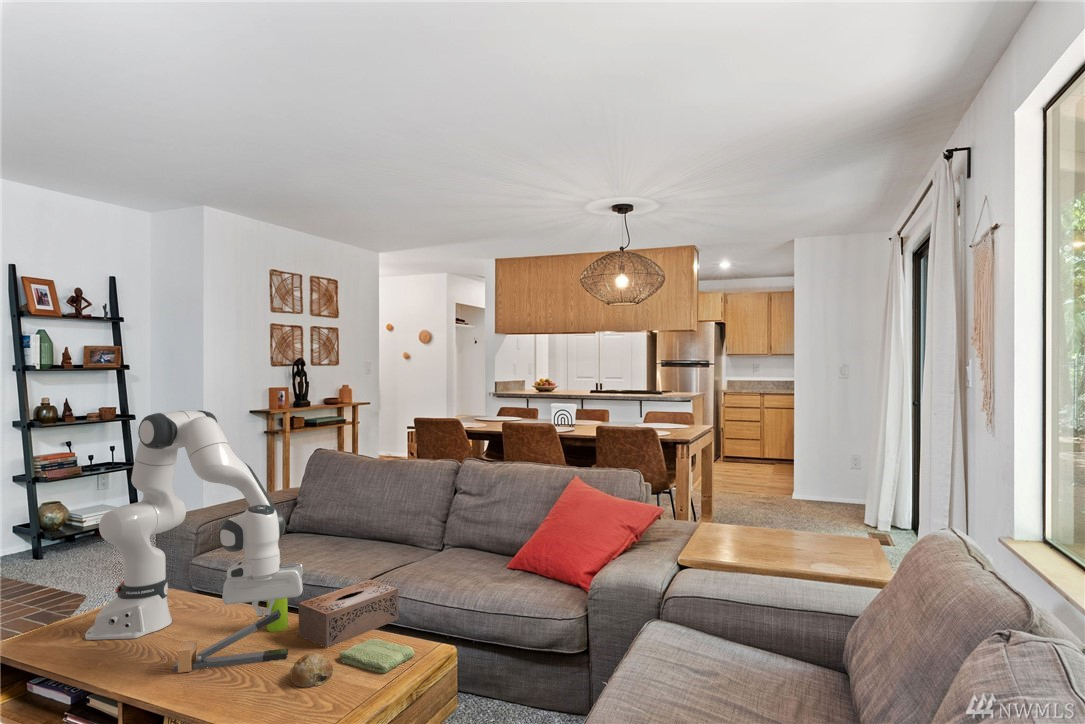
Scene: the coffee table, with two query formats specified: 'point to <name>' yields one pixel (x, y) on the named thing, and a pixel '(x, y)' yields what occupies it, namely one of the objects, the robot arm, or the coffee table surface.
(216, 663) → the tongs lower arm
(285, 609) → the soap dispenser
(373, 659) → the washcloth
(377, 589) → the tissue box cover
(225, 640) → the tongs upper arm
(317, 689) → the coffee table surface
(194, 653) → the tan hook block
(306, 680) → the bread roll
